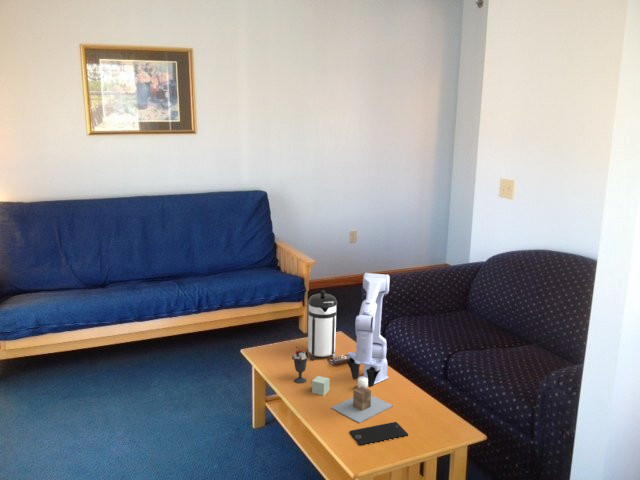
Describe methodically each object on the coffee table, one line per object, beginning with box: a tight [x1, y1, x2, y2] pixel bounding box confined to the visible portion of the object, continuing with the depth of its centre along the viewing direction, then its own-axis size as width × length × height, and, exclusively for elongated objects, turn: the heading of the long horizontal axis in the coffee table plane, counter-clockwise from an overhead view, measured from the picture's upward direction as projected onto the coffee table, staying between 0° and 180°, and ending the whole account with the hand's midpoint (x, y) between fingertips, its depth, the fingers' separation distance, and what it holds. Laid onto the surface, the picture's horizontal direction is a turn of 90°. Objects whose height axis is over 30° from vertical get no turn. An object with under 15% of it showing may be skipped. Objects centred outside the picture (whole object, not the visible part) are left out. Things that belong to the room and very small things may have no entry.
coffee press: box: [307, 289, 338, 361], centre depth 258 cm, size 17×16×30 cm
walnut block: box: [352, 386, 372, 411], centre depth 214 cm, size 4×4×6 cm
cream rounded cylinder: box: [357, 376, 369, 389], centre depth 229 cm, size 4×4×4 cm
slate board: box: [330, 394, 394, 424], centre depth 215 cm, size 18×14×1 cm
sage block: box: [311, 375, 331, 396], centre depth 226 cm, size 5×5×5 cm
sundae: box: [291, 346, 310, 384], centre depth 233 cm, size 7×7×15 cm
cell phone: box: [349, 421, 409, 446], centre depth 198 cm, size 9×18×1 cm, turn 111°
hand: (363, 382), depth 213 cm, fingers open, 7 cm apart
